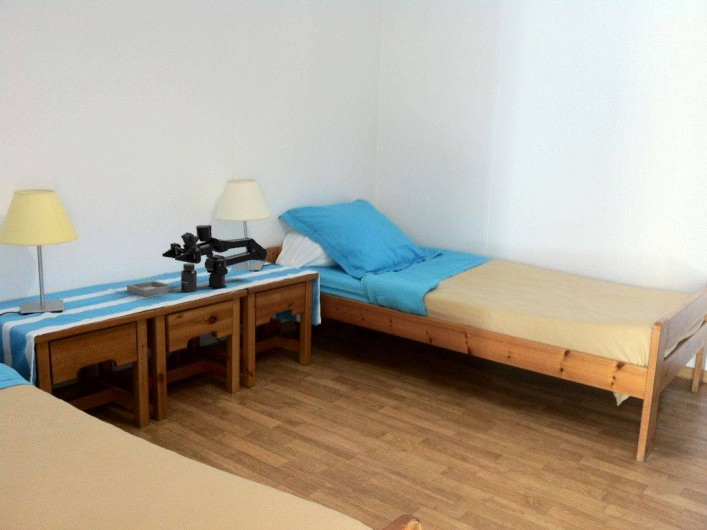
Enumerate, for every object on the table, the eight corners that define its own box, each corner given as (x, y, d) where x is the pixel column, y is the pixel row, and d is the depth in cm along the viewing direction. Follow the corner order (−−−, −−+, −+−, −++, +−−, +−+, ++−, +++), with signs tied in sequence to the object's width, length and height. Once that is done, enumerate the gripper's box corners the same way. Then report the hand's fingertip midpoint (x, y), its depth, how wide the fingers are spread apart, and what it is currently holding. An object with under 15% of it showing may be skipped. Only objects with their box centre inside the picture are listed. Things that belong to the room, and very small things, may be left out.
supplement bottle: (180, 292, 298) (180, 265, 296) (181, 289, 305) (181, 262, 302) (196, 292, 300) (196, 265, 297) (197, 289, 306) (196, 262, 304)
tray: (155, 286, 309) (154, 280, 308) (173, 291, 300) (173, 285, 299) (127, 290, 298) (126, 284, 298) (145, 296, 289) (145, 290, 289)
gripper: (185, 229, 304) (154, 235, 293) (210, 235, 292) (180, 241, 281) (187, 253, 307) (156, 260, 296) (212, 260, 295) (182, 267, 284)
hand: (168, 257), depth 289 cm, fingers open, 9 cm apart
